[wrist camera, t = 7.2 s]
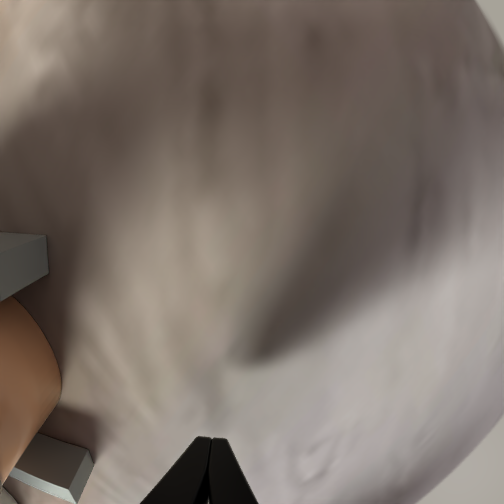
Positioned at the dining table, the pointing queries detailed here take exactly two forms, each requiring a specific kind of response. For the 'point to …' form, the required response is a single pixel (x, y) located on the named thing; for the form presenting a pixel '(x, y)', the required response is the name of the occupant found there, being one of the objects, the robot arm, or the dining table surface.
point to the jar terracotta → (23, 382)
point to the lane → (41, 447)
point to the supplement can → (6, 498)
